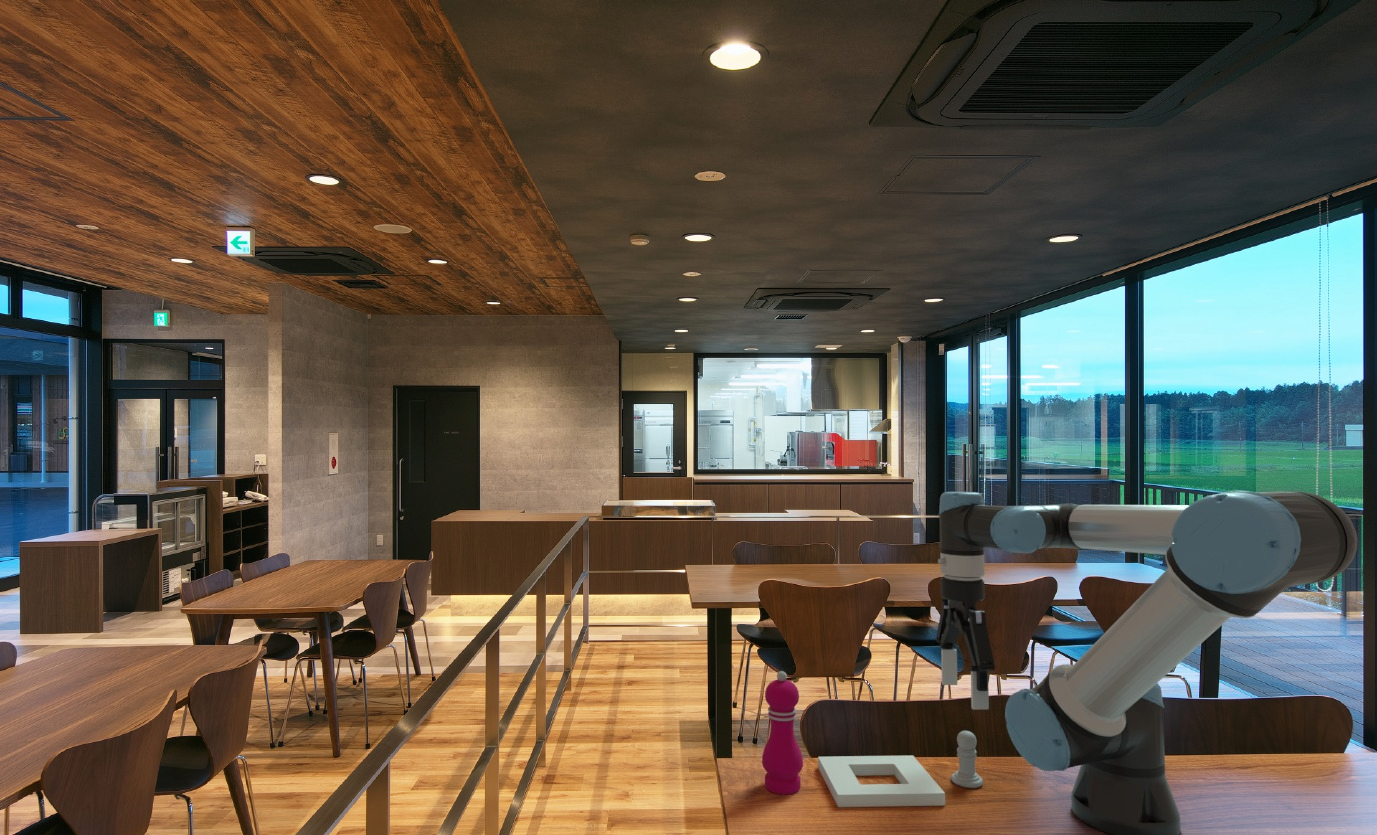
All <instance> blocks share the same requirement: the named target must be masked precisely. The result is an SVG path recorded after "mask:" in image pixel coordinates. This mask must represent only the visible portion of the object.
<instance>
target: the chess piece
mask: <svg viewBox="0 0 1377 835" xmlns="http://www.w3.org/2000/svg"><path fill="white" fill-rule="evenodd" d="M956 741H957V742H956V743H957V745H958V747H956V748H957V749H956V752H957V753H956V756H957V758H958V766H959V767H958V770H957V771H955V772H954V773H952V774H951V776H950V779H951V781H952V782H953V783H954V784H955V785H956V786H959V787H962V788H966V789H967V788H968V789H977V788H980V787H981V786H983V783H984V780H983V778H982V777H981V776H980V775H979V774H978V773H977V772H976V760H977V759H978V758H977V757H978V756H977V753H978V752H977V750H976V746H977V742H978V741H977V738H976V735H975V734H974V733H973V732H972V731H970V730H962V731H960V732H959V733H958V734H957V737H956Z"/></svg>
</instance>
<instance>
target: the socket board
mask: <svg viewBox="0 0 1377 835" xmlns="http://www.w3.org/2000/svg"><path fill="white" fill-rule="evenodd" d="M817 768H818V771H819V772H820V774H821V776H822V778H823V780H824V783H825V784H826V786H827V788H828V790H829V791H830V792H829V793H830V794H831V796H832V798H833V799H834V800H833V801H834V802H835V804H836V806H837V807H838V808H864V807H865V808H866V807H867V808H868V807H869V808H870V807H872V808H875V807H928V806H929V807H933V806H939V807H940V806H944V807H945V806H946V793H945V791H944V790H943V789H942V788H941V787H940V785H938V783H937V782H936V781H935V779H933V777H932V776H931V775H930V774H929V772H928V771H927V769H925V767H923V765H922V764H921V763H920V762H919V761H918V760H917V758H916V757H915V756H914V755H852V756H850V755H849V756H848V755H847V756H846V755H845V756H843V755H842V756H839V755H838V756H834V755H833V756H818V757H817ZM857 776H862V777H863V776H894V777H895V778H896V780H898V782H899V783H896V784H895V783H882V784H881V783H880V784H872V783H871V784H868V783H867V784H861V783H860V782H859V779H858V777H857Z"/></svg>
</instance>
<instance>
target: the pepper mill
mask: <svg viewBox="0 0 1377 835" xmlns="http://www.w3.org/2000/svg"><path fill="white" fill-rule="evenodd" d="M787 678H788V676H787V673H786V672H785V671H783V670H781V671H779V672H778V673H777V674H776V679H775V680H773V681H770V682H769V684H768V685H767V686H766V688H765V691H764V692H765V693H764V697H765V701H766V702H767V704H768V705H769V707H768V708H767V711H768V713H767V717H769V719H770V732H769V736H768V740H767V742H766V744H765V747H764V749H763V752H762V757H761V764H762V767H763V769H764V771H765V772H766V773H765V775H764V787H765V790H767V791H769V792H771V793H773V794H777V795H791V794H792V795H793V794H796V793H798V792H799V791H800V789H801V776H800V775H799V773H800V772H801V771H802V770H803V767H804V758H803V754H802V751H801V749H800V746H799V743H798V742H797V739H796V736H795V732H794V724H795V723H794V722H795V719H797V709H796V706H797V704H798V703H799V700H800V694H799V693H800V692H799V690H798V687H797V686H796V685H795V683H793V682H792V681H791V680H788V679H787Z"/></svg>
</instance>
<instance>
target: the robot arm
mask: <svg viewBox="0 0 1377 835" xmlns="http://www.w3.org/2000/svg"><path fill="white" fill-rule="evenodd" d="M938 517H939V518H938V519H939V521H938V522H939V551H940V553H939V554H940V558H938V560H937V563H938V564H940V574H941V575H943V576H942V577H941V578H940V597H941V610H940V616H939V620H938V627H937V629H936V630H937V632H936V636H935V640H936V643H939V646H940V648H941V651H940V652H941V654H940V655H941V656H940V658H941V663H940V664H941V685H942V686H957V685H958V650H957V649H958V648H959V646H958V644H957V643H958V642H957V641H958V639H959V636H960V635H962V636H963V637H964V640H965V643H966V648H967V651H968V654H969V659H970V660H971V666H970V668H969V672H970V694H971V695H970V696H971V697H970V700H971V701H970V702H971V706H970V708H971V709H972V710H990V705H989V704H990V701H989V700H990V699H989V698H990V696H989V693H990V692H989V672H991V671H995V670H996V666H995V661H994V660H995V659H994V656H993V651H992V646H991V642H990V637H989V632H988V627H987V618H986V617H987V616H986V611H984V610H978V608H977V605H976V604H977V603H978V602H982V601H983V600H985V598H986V597H985V596H986V595H985V594H986V592H985V588H986V587H985V580H984V579H983V578H984V576H985V574H986V573H985V548H986V549H992V550H997V551H998V550H999V551H1004V552H1007V553H1010V554H1017V553H1018V554H1031V553H1034V552H1035V551H1037V550H1042V549H1056V548H1057V549H1058V548H1059V549H1060V548H1061V549H1062V548H1063V549H1064V548H1065V549H1075V550H1077V549H1078V550H1095V551H1096V550H1097V551H1099V550H1100V551H1110V552H1121V553H1122V552H1123V553H1125V552H1126V553H1138V554H1152V555H1163V556H1164V558H1165V562H1166V565H1167V569H1166V570H1165V571H1164V572H1163V573H1162V574H1161V575H1160V576H1159V577H1158V578H1157V579H1156V580H1155V581H1154V582H1153V583H1152V584H1150V586H1149V587H1148V588H1147V589H1146V591H1144V592H1143V593H1142V594H1141V595H1140V596H1139V598H1138V599H1136V600H1135V602H1133V603H1132V605H1130V607H1129V608H1128V609H1127V610H1126V611H1125V612H1123V614H1122V615H1121V616H1119V618H1118V619H1117V620H1116V621H1115V622H1114V623H1113V624H1112V625H1111V626H1110V627H1109V628H1108V629H1107V630H1106V631H1105V632H1104V633H1103V634H1102V635H1101V636H1100V637H1099V638H1098V640H1097V641H1095V643H1094V644H1093V645H1092V646H1090V647H1089V649H1088V650H1087V651H1086V652H1084V654H1083V655H1081V656H1080V658H1079V659H1077V661H1075V663H1074V664H1065V663H1064V664H1061V665H1058V666H1056V667H1054V668H1053V669H1052V670H1051V671H1050V672H1049V673H1048V674H1047V675H1046V676H1045V677H1044V678H1043V679H1042V680H1041V681H1040V682H1039V683H1038V684H1037V685H1036V686H1034V687H1033V688H1023V689H1020V690H1018V691H1015V692H1014V693H1012V694H1011V695H1010V696H1009V698H1008V699H1007V702H1006V704H1005V710H1004V711H1005V714H1004V719H1005V721H1006V722H1005V723H1006V729H1007V733H1008V735H1009V738H1010V739H1011V742H1012V744H1013V746H1014V747H1015V749H1016V751H1017V752H1018V753H1019V755H1020V756H1021V757H1022V758H1023V759H1024V760H1025V762H1027V763H1029V764H1030V766H1033V767H1034V768H1037V769H1039V770H1040V771H1044V772H1054V771H1059V772H1064V771H1066V770H1067V769H1070V768H1073V767H1074V768H1075V767H1079V770H1078V773H1077V776H1076V779H1075V782H1074V785H1073V787H1072V789H1071V790H1072V791H1071V793H1070V794H1071V796H1070V797H1071V798H1070V799H1071V802H1070V803H1071V810H1072V813H1073V814H1074V815H1075V816H1076V817H1077V818H1078V819H1079V820H1080V821H1081V822H1083V823H1084V824H1086V825H1088V826H1090V827H1092V828H1094V829H1096V830H1099V831H1100V832H1104V833H1106V834H1110V835H1180V834H1181V830H1182V829H1181V828H1182V827H1181V814H1180V811H1179V809H1178V806H1177V803H1176V800H1175V798H1174V795H1173V793H1172V790H1171V787H1170V785H1169V783H1168V780H1167V779H1168V778H1167V776H1166V766H1165V765H1166V759H1165V758H1166V757H1165V755H1166V754H1165V728H1164V727H1165V726H1164V725H1165V724H1164V709H1165V705H1164V702H1163V694H1162V687H1161V686H1160V685H1159V682H1160V681H1161V680H1162V679H1163V678H1164V677H1166V676H1167V675H1168V674H1169V673H1170V672H1172V670H1174V668H1176V667H1177V666H1178V665H1179V664H1180V663H1181V662H1182V661H1183V660H1184V659H1186V658H1187V657H1188V656H1189V655H1190V654H1191V653H1193V651H1194V650H1196V649H1198V647H1199V646H1200V645H1201V644H1203V643H1204V641H1206V640H1207V639H1208V638H1209V637H1211V635H1212V634H1214V632H1216V631H1217V630H1218V629H1219V628H1221V626H1222V625H1224V624H1225V623H1226V622H1227V621H1228V620H1229V619H1230V618H1236V619H1237V618H1238V619H1249V618H1253V617H1255V616H1256V615H1257V614H1258V613H1260V612H1261V611H1262V610H1263V609H1264V608H1265V607H1266V606H1267V605H1268V604H1270V603H1271V602H1272V601H1273V600H1275V599H1276V598H1277V597H1278V596H1279V595H1281V593H1282V592H1283V591H1285V590H1287V589H1288V588H1290V587H1294V586H1304V585H1310V584H1311V585H1312V584H1317V583H1322V582H1325V581H1328V580H1330V579H1333V578H1335V577H1336V576H1338V575H1340V574H1341V573H1343V572H1344V571H1345V570H1346V569H1348V567H1349V565H1350V564H1351V563H1352V561H1353V560H1354V558H1355V555H1356V552H1357V549H1358V535H1357V531H1356V528H1355V526H1354V524H1353V522H1352V520H1351V518H1350V517H1349V516H1348V515H1347V514H1346V512H1345V511H1344V510H1343V509H1342V508H1340V506H1338V505H1337V504H1335V503H1334V502H1332V501H1331V500H1329V499H1327V498H1325V497H1322V496H1320V495H1317V494H1314V493H1311V492H1307V491H1299V490H1283V491H1261V492H1260V491H1258V492H1256V491H1255V492H1254V491H1250V490H1249V491H1247V490H1231V491H1224V492H1220V493H1217V494H1212V495H1211V494H1210V495H1207V496H1204V497H1201V498H1199V499H1198V500H1197V499H1196V500H1195V501H1193V502H1192V503H1190V504H1189V505H1188V504H1178V505H1177V504H1075V503H1060V504H1043V505H1039V504H1037V505H1033V504H1032V505H1029V504H1028V505H993V504H991V505H988V504H985V502H984V498H983V495H982V493H980V492H976V491H975V492H974V491H946V492H945V491H944V492H942V494H941V495H940V498H939V511H938Z"/></svg>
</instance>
